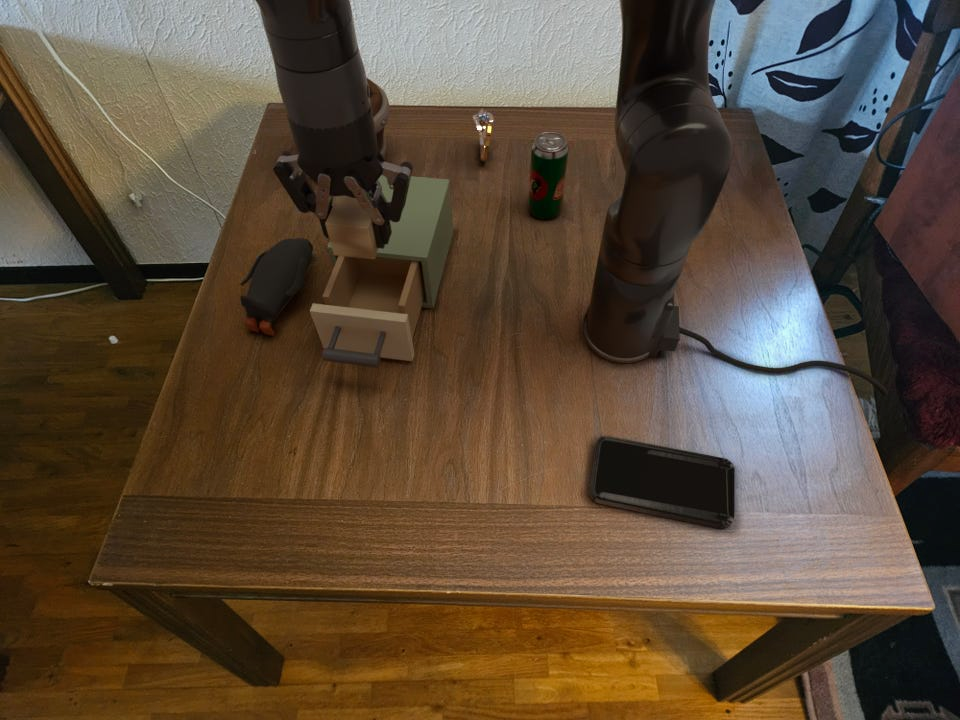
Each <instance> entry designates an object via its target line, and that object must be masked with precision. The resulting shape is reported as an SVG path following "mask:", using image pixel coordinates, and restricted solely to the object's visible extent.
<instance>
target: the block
mask: <svg viewBox="0 0 960 720" xmlns="http://www.w3.org/2000/svg"><path fill="white" fill-rule="evenodd" d="M335 197H336V198H335V200H334V201H333V203H332V206H333V207H332V209H331V211H330V214H329V216H328V218H327V221H326V223H325V225H326V229H327V232H328V236H329V238H328V240H329V239H330V240H329V241H330V243H331V246H332V250H333V253H334V255H337V256H347V257H356V258H365V259H375V257H376V254H377V251H378V248H377V246H376V241H375V236H374V232H373V227H372V223H373V220H372V219H371V217H370V215H369V214H368V212H367V210H363V209H362V208H361V206H360V204H359V203H358V201H357V199H356V198H352V197H348V196H335Z"/></svg>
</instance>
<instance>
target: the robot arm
mask: <svg viewBox="0 0 960 720" xmlns="http://www.w3.org/2000/svg"><path fill="white" fill-rule="evenodd" d="M254 1H255V2H256V4H257V6H258V8H259V13H260V17H261V21H262V26H263V29H264V32H265V35H266V39H267V43H268V46H269V49H270V53H271V56H272V59H273V63H274V71H275V77H276V83H277V87H278V91H279V94H280V97H281V101H282V104H283V107H284V111H285V115H286V118H287V121H288V125H289V128H290V131H291V135H292V138H293V142H294V145H295V149H296V151H297V153H298V154H293V153H291V152H290V151H288V150H282V152H281V153H280V155H279V157H278V158H277V160H276V163H275V164H274V166H273V168H272V170H273V173H274V174H275V176H276V177H277V179H278V181H279V182H280V184H281V185H282V187H283V188H284V189H285V191H286V193H287V194H288V196H289V197H290V199H291V201H292V203H293V204H294V205H295V207H296V208H297V210H298V211H299V212H301V214H302V213H303V214H307V213H309V212H310V213H313V214H314V215H315V217H316V218H318V220H319V223H320V227H321V230H322V234H323V235H324V237H325V238H326V239H328V241H330V239H329V236H328V232H327V229H326V225H325V223H326V221H327V218H328V216H329V214H330V211H331V209H332V207H333V204H334V201H335V200H334V199H335V197H337V196H348V197H352V198H356V199H357V201H358V203H359V204H360V206H361V208H362V209H363V210H367V212H368V214H369V215H370V217H371V219H372V220H373V223H372V227H373V232H374V236H375V241H376V246H377V248H382V249H384V246H385V244H388V242H389V239H390V236H391V233H392V230H391V224H390V220H391V221H392V222H399V221H400V218H401V214H402V211H403V208H404V206H405V203H406V198H407V193H408V188H409V184H410V179H411V176H412V175H413V169H414V168H413V167H414V166H413V165H412V164H411V163H410V162H408V161H403V162H401V163H400V165H397V164H395V163H392V162H388V161H386V158H385V157H383V155H382V154H381V153H380V151H379V149H378V145H377V136H376V130H375V125H374V119H373V113H372V107H371V101H370V88H369V84H368V83H367V78H368V77H367V73H366V70H365V65H364V62H363V59H362V55H361V52H360V49H359V44H358V38H357V32H356V28H355V21H354V16H353V10H352V4H351V0H254ZM618 2H619V9H620V19H621V49H620V51H621V52H620V60H619V72H618V83H617V93H616V103H615V112H614V135H615V143H616V146H617V149H618V153H619V155H620V159H621V162H622V166H623V169H624V172H625V176H624V183H623V189H622V194H620V195H619V196H617V197H616V198H615V199H614V200H613V201H612V202H611V204H610V205H609V207H608V209H607V212H606V215H605V219H604V224H603V230H602V234H601V241H600V244H599V251H598V257H597V261H596V266H595V272H594V278H593V283H592V288H591V293H590V294H591V295H590V299H589V304H588V307H587V309H586V312H585V314H584V317H583V324H584V327H583V336H584V339H585V341H586V344H587V345H588V347H589V348H590V349H591V350H592V352H594V353H595V354H596V355H598V356H599V357H601V358H603V359H605V360H607V361H610V362H612V363H618V364H632V363H637V362H641V361H643V360H644V359H646V358H648V357H653V358H655V357H658V355H659V351H667V352H672V353H673V352H674V353H675V351H676V349H677V347H678V345H679V342H680V339H681V337H680V336H681V335H683V336H686V337H689V338H691V339H693V340H696V341H698V342H699V343H701V344H702V345H704V346H705V347H706V349H707V351H709V352H710V353H711V354H712V355H713V356H715V357H717V358H718V359H721V360H723V361H725V362H726V363H729V364H732V365H734V366H736V367H739V368H741V369H746V370H748V371H749V370H750V371H753V372H759V373H764V374H765V373H766V374H773V375H776V374H777V375H778V374H788V373H792V372H796V371H799V370H802V369H807V368H812V367H824V368H831V369H836V370H840V371H843V372H846V371H847V372H846V373H849V374H852V375H855V376H857V377H859V378H861V379H863V380H865V381H867V382H868V383H869V384H870V385H872V386H873V387H875V389H877V391H879V393H880V394H881V395H883V396H884V397H888V396H889V395H890V394H889V391H888V389H886V387H885V386H884V385H883V384H882V383H881V382H880V381H879V380H878V379H876V378H875V377H873V376H871V375H870V374H868V373H867V372H864V371H862V370H860V369H858V368H854V367H852V366H849V365H845V364H841V363H837V362H833V361H827V360H807V361H803V362H799V363H796V364H793V365H789V366H784V367H768V366H761V365H757V364H752V363H748V362H745V361H741V360H738V359H736V358H734V357H732V356H729V355H727V354H725V353H724V352H722V351H720V350H717V349H716V348H715V347H714V346H713V344H712V343H711V342H710V341H709V340H708V339H707V338H705V337H704V336H702V335H700V334H698V333H696V332H694V331H691V330H688V329H686V328H684V327H681V326H680V305H675V291H676V288H677V286H678V283H679V280H680V277H681V275H682V272H683V269H684V265H685V263H686V260H687V257H688V254H689V251H690V248H691V245H692V243H693V242H694V241H695V240H697V238H698V237H699V236H700V235H701V233H702V232H703V231H704V230H705V228H706V226H707V224H708V223H709V220H710V218H711V215H712V213H713V211H714V209H715V206H716V204H717V202H718V200H719V198H720V195H721V193H722V191H723V188H724V186H725V183H726V180H727V178H728V176H729V172H730V169H731V165H732V160H733V154H734V153H733V152H734V151H733V150H734V145H733V140H732V137H731V134H730V132H729V130H728V128H727V126H726V123H725V121H724V119H723V116H722V114H721V113H720V110H719V108H718V107H717V104H716V102H715V100H714V98H713V94H712V91H711V87H710V81H709V49H710V47H709V46H710V27H711V22H712V21H711V19H712V14H713V10H714V6H715V2H716V0H619V1H618ZM306 175H307V176H308V177H309V178H310V179H311V180H312V181H313V182H314V183H316V184H317V188H316V192H315V190H314V188H313V186H312V185H311V184H310V182H309V179H308V178H307V176H306ZM381 175H384V176H385V177H386V178H387V182H388V185H389V188H390V189H392V190H393V189H394V190H393V195H392V200H391V202H387V200H386V198H385V196H384V195H383V193H382V186H381V184H380V182H379V180H378V179H379V178H380V176H381ZM680 334H681V335H680Z"/></svg>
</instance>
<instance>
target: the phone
mask: <svg viewBox="0 0 960 720" xmlns="http://www.w3.org/2000/svg"><path fill="white" fill-rule="evenodd" d="M735 473H736V472H735V466H734V464H733V463H732V462H731V461H730V460H729V459H727V458H726V457H725V458H724V457H720V456H716V455H710V454H704V453H699V452H695V451H694V452H693V451H690V450H683V449H678V448H672V447H668V446H662V445H658V444H652V443H646V442H643V441H642V442H641V441H637V440H631V439H626V438H620V437H615V436H611V435H602V436H600V437H598V439H597V441H596V444H595V447H594V453H593V461H592V469H591V474H590V482H589V489H588V495H589V498H590V499H591V501H593V502H594V503H597V504H599V505H604V506H609V507H612V508H613V507H615V508H618V509H624V510H627V511H628V510H629V511H633V512H638V513H643V514H647V515H653V516H658V517H662V518H666V519H671V520H672V519H673V520H677V521H682V522H687V523H692V524H696V525H702V526H705V527H710V528H716V529H721V530H724V529H727V528H728V527H730V525H731V524H732V523H733V522H734V520H735V513H736V511H735V509H736V508H735V507H736V505H735V503H736V502H735V500H736V499H735V498H736V497H735V491H736V489H735V485H736V483H735V480H736V479H735V477H736V476H735V475H736V474H735Z"/></svg>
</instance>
